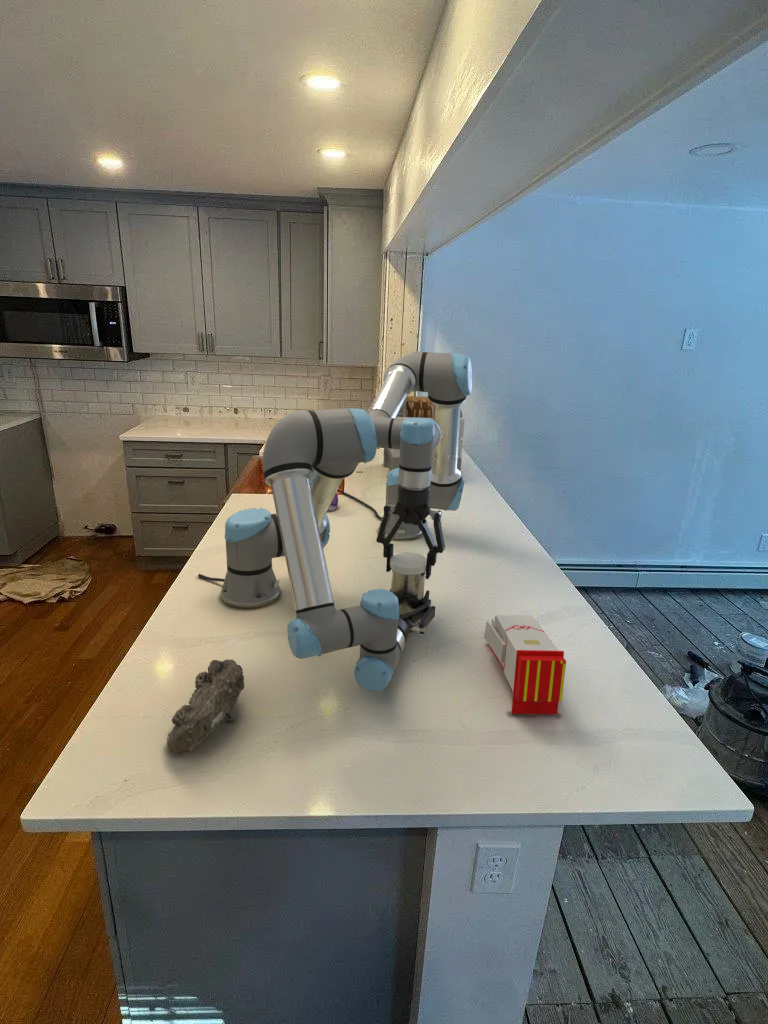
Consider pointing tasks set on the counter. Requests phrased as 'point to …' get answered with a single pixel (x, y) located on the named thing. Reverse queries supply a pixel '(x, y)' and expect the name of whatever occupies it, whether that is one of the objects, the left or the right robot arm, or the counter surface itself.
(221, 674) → the fossil
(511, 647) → the toy
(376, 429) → the right robot arm
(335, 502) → the figurine
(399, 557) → the lid
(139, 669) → the counter surface
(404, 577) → the jar
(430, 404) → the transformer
